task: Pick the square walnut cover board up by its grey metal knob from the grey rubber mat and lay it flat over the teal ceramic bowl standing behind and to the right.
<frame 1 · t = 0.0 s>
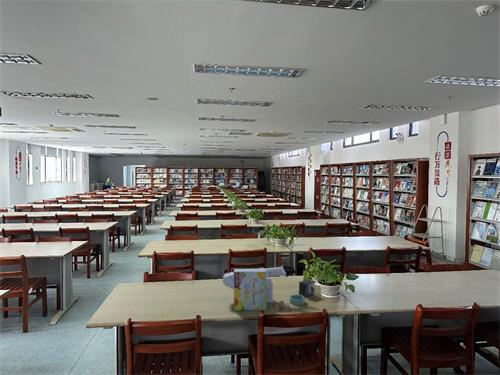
hand: (294, 270, 246), 22 cm above the table, tool horizontal, fingers open, 7 cm apart
snack box: (249, 308, 232), on the table
cover: (281, 307, 231), resting on mat
mat: (281, 308, 231), on the table
small box: (306, 295, 257), on the table
bowl: (296, 302, 242), on the table
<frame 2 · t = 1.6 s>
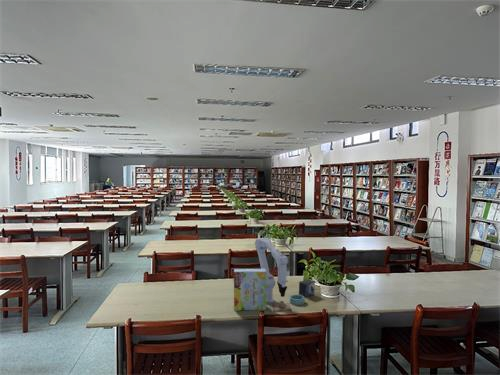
hand: (281, 294, 231), 9 cm above the table, tool pointing down, fingers open, 7 cm apart
nothing on the table moved.
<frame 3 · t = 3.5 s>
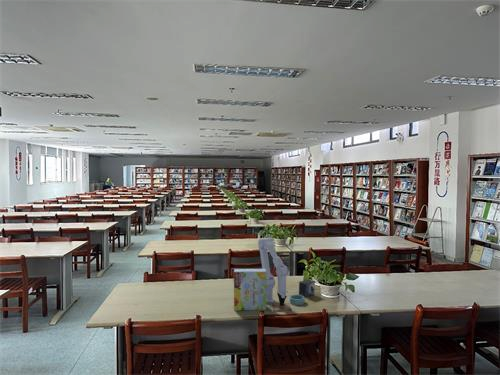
hand: (281, 304, 231), 2 cm above the table, tool pointing down, fingers closed on cover, 2 cm apart
cover: (281, 307, 231), resting on mat, touching gripper
everything else where it was.
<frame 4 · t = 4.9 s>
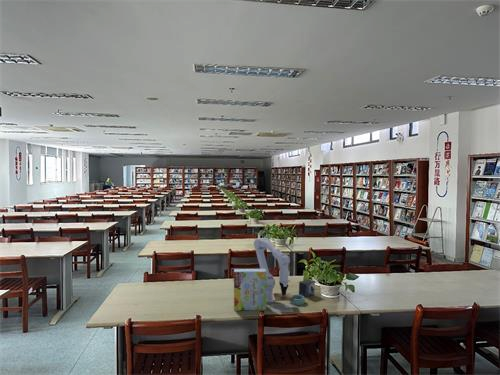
hand: (283, 293, 232), 9 cm above the table, tool pointing down, fingers closed on cover, 2 cm apart
cover: (283, 297, 232), point 7 cm above the table, touching gripper
everything else where it was.
when the fingers open (7 cm above the table, at t = 6.7 s): cover stays where it is, resting on bowl.
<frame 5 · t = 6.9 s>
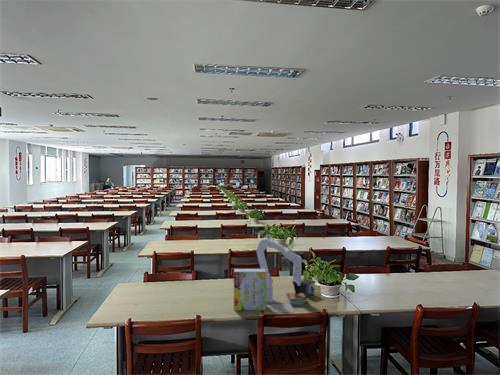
hand: (296, 292, 242), 7 cm above the table, tool pointing down, fingers open, 4 cm apart
cover: (296, 297, 242), point 4 cm above the table, touching bowl
everything else where it was.
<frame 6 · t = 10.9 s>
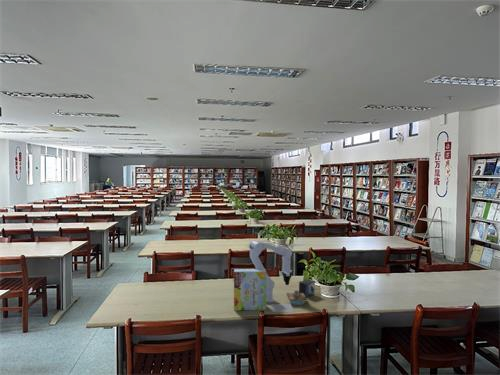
hand: (286, 283, 252), 10 cm above the table, tool pointing down, fingers open, 7 cm apart
nothing on the table moved.
at the end: cover 0.4 cm off-centre on the bowl, point 4.0 cm above the bowl's base; cover tilted 0°; the gripper is holding nothing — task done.
